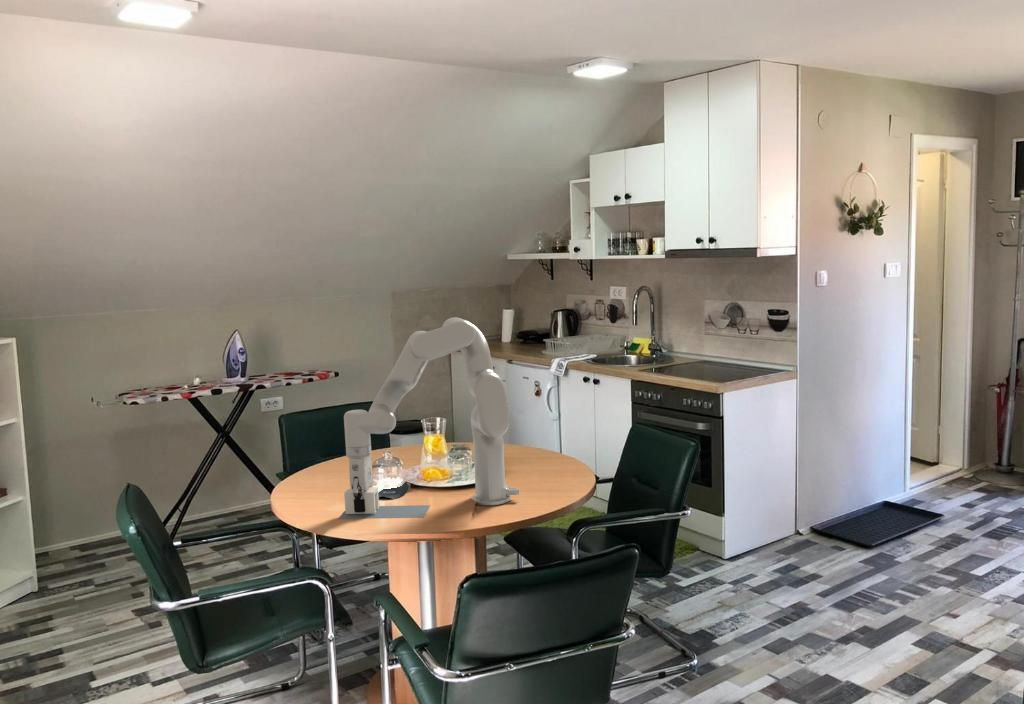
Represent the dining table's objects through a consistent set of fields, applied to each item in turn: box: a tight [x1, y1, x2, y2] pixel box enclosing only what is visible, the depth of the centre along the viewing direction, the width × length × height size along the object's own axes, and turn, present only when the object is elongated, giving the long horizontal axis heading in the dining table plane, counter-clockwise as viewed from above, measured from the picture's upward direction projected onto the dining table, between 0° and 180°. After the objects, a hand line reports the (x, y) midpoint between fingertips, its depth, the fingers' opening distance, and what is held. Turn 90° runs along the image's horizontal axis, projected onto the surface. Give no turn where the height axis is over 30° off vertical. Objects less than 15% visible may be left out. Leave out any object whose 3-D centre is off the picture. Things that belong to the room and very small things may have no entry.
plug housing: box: [343, 486, 380, 514], centre depth 256 cm, size 9×6×6 cm, turn 86°
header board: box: [337, 504, 431, 520], centre depth 256 cm, size 26×12×6 cm, turn 86°
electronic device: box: [378, 482, 411, 501], centre depth 276 cm, size 9×6×15 cm
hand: (362, 508), depth 256 cm, fingers closed on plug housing, 5 cm apart
